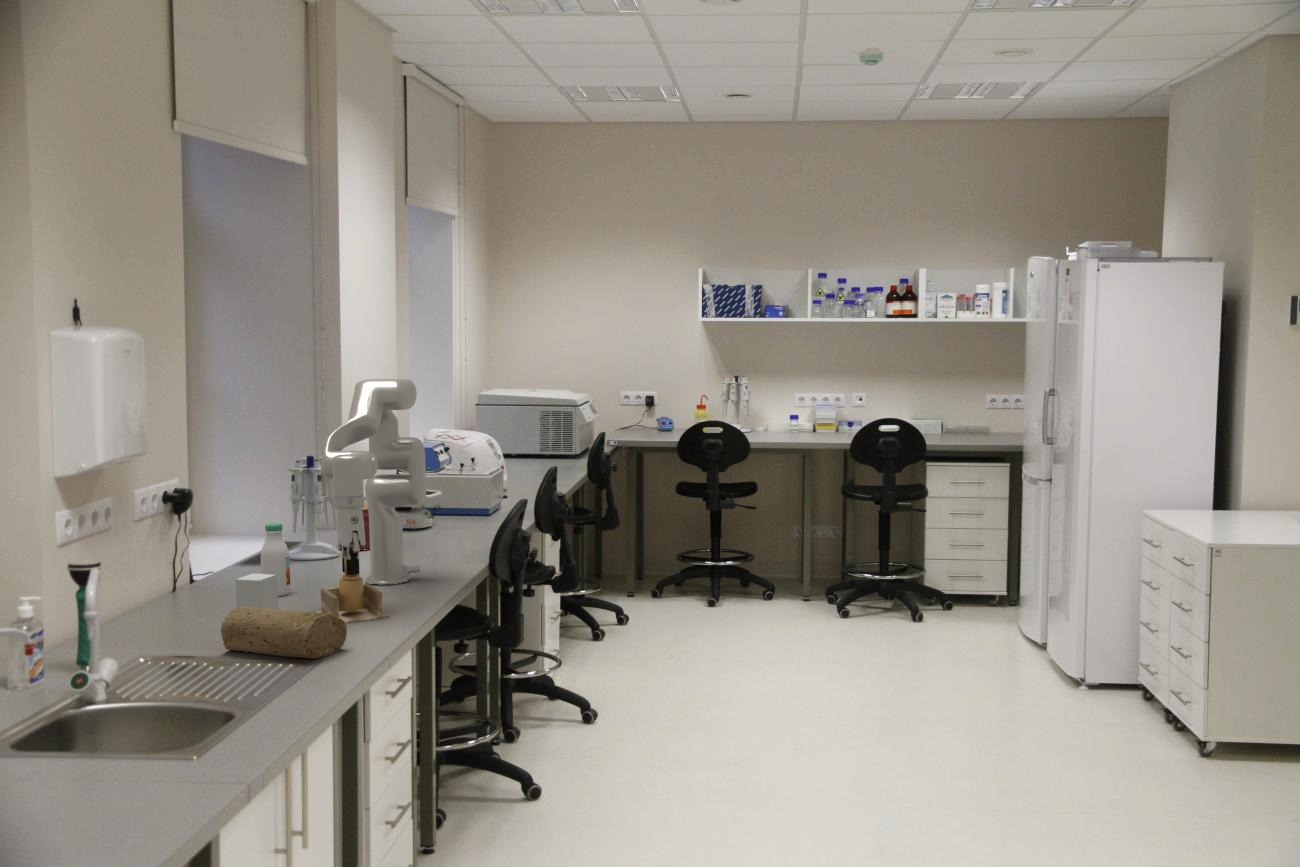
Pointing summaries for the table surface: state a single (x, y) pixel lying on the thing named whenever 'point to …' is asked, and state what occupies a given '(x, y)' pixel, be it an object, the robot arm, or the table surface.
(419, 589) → the table surface
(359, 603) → the bottle
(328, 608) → the u rest
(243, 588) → the supplement box
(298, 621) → the core sample
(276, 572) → the milk bottle
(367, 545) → the canister
